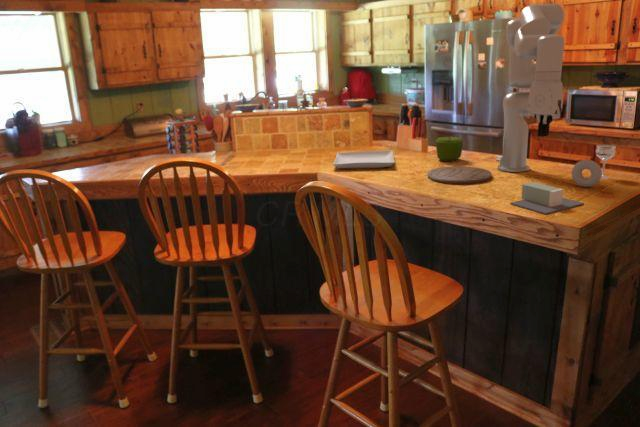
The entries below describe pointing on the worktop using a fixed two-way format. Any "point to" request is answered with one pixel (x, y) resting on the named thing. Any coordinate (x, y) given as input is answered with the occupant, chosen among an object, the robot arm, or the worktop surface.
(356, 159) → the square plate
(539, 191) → the sage block
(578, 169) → the donut
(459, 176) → the trivet
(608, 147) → the wineglass
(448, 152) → the green bell pepper
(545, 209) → the charcoal mat
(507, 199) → the worktop surface
